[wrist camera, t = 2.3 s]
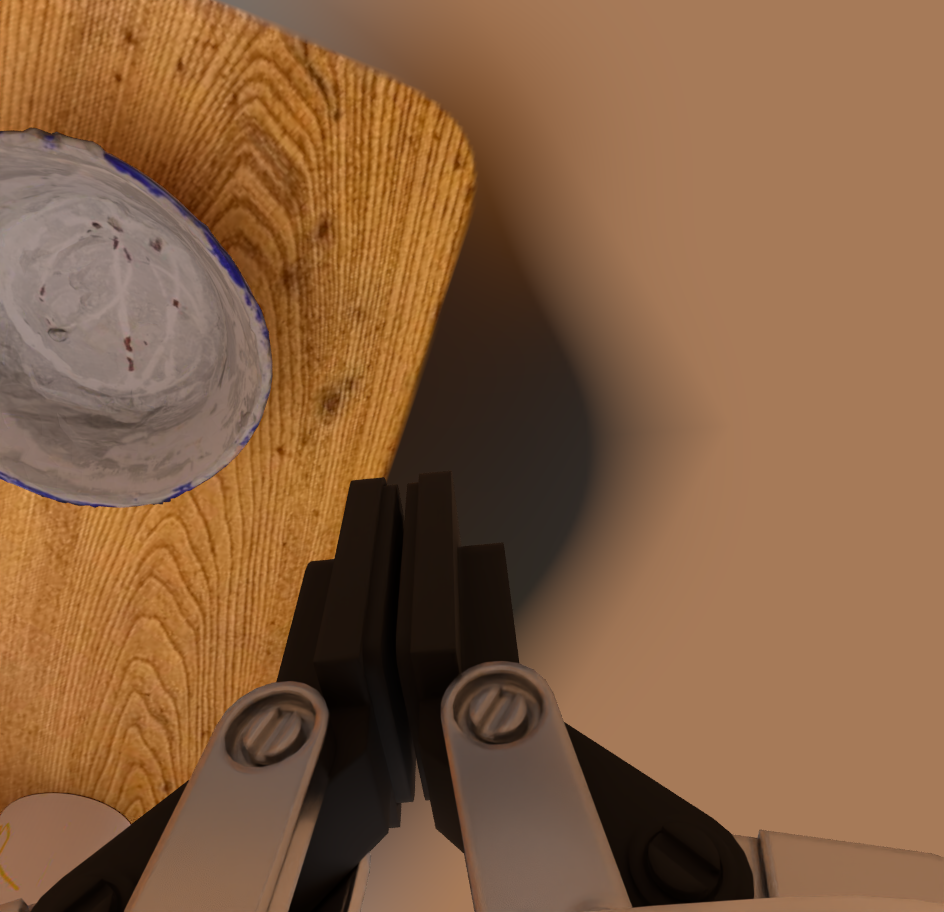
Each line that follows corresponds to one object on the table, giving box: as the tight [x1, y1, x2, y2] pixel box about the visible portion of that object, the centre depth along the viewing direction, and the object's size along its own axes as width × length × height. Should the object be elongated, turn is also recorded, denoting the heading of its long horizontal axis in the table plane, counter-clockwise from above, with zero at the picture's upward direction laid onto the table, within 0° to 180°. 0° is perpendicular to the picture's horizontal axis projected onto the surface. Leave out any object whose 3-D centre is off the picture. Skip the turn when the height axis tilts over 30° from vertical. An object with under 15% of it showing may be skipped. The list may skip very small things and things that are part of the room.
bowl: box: [0, 128, 272, 507], centre depth 24 cm, size 13×13×5 cm
